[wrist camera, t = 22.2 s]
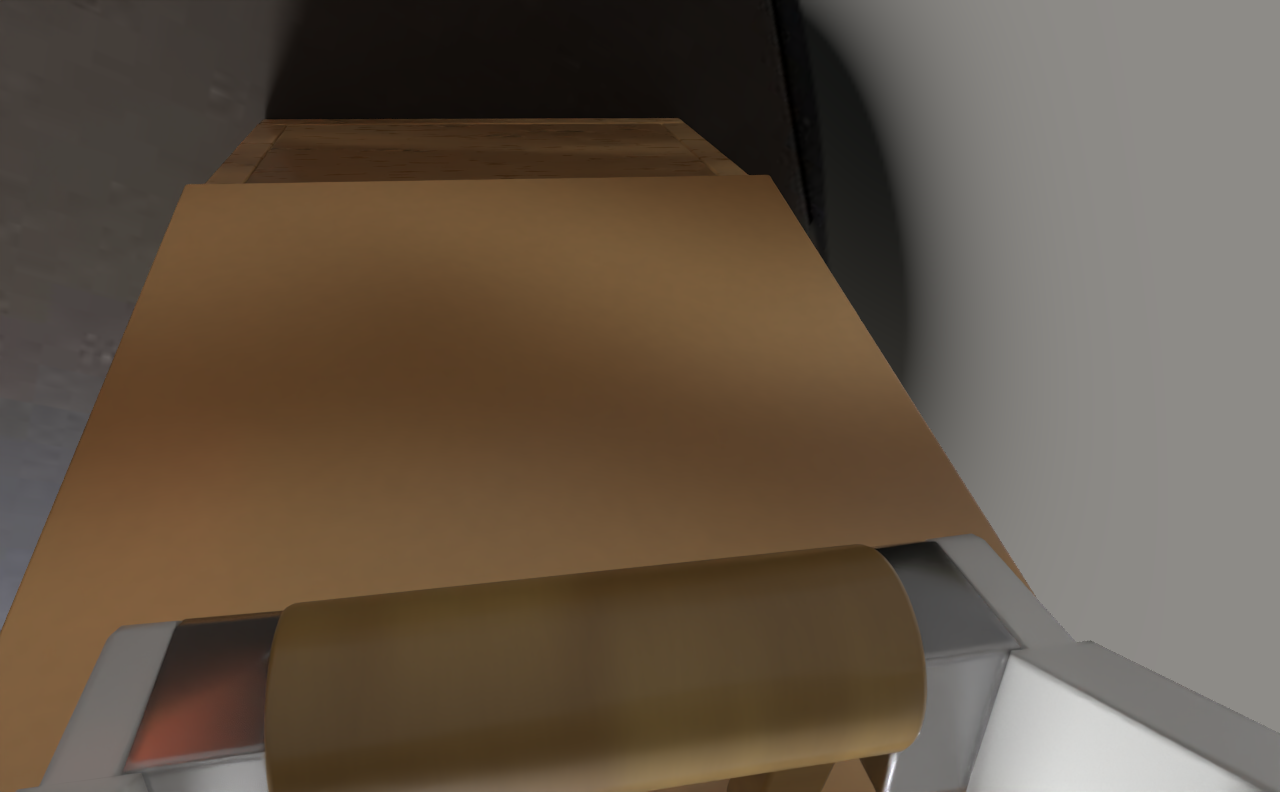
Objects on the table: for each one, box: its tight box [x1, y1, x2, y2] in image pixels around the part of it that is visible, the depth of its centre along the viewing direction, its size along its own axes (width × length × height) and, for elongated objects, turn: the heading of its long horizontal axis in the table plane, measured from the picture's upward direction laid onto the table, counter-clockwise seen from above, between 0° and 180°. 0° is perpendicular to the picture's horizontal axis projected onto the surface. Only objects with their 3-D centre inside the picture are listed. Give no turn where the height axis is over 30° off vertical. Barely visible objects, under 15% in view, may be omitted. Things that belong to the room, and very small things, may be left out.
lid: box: [0, 175, 1036, 792], centre depth 13 cm, size 18×14×5 cm
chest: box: [205, 118, 748, 184], centre depth 29 cm, size 17×14×9 cm
